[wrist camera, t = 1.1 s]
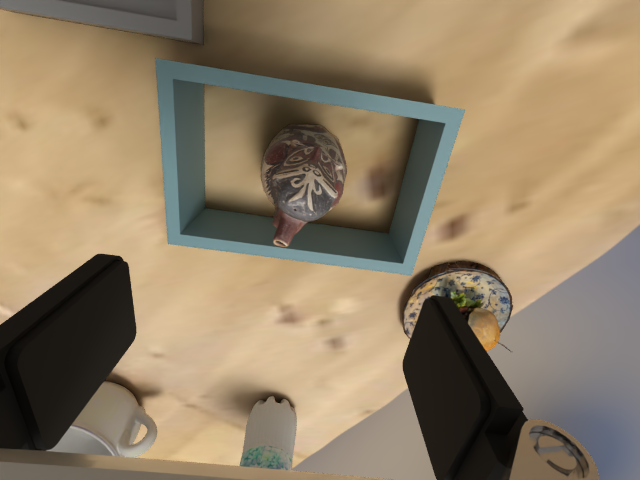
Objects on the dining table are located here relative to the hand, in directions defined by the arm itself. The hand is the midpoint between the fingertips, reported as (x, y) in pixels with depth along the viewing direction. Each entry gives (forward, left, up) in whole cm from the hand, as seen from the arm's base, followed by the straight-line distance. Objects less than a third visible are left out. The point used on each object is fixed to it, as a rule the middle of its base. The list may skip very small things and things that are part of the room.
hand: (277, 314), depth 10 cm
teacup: (+34, -20, -21) cm, 44 cm away
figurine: (0, 0, -21) cm, 21 cm away
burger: (+13, +18, -21) cm, 31 cm away
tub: (0, 0, -20) cm, 20 cm away
